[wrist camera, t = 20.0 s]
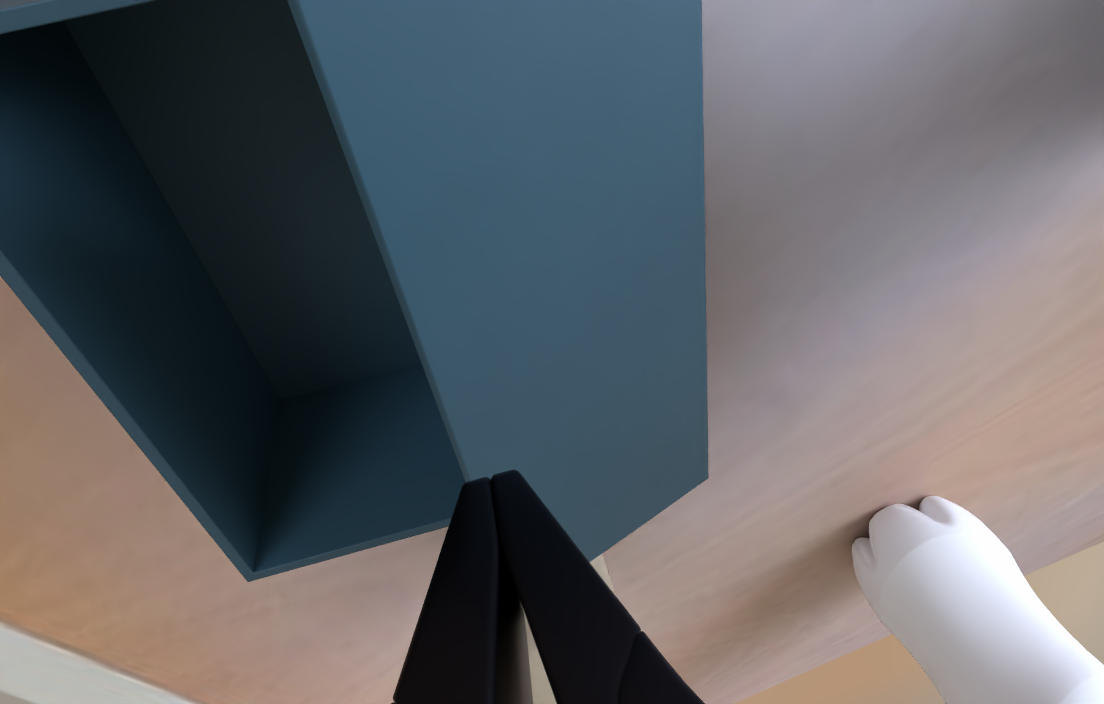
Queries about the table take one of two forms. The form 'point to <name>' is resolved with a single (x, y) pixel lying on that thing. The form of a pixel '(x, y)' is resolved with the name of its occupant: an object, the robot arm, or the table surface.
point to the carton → (217, 272)
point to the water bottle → (969, 610)
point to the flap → (539, 231)
